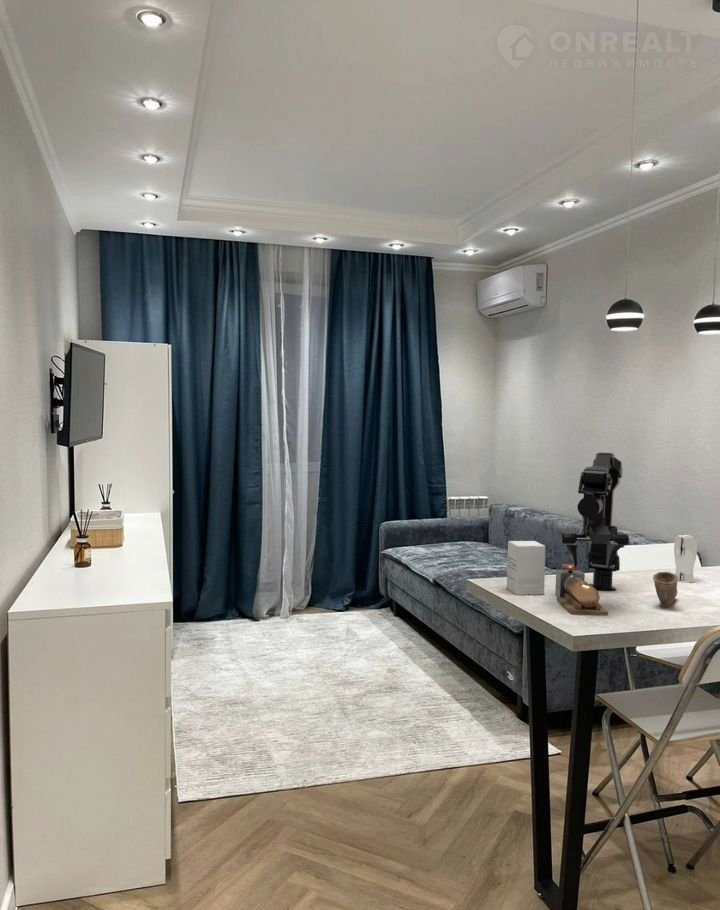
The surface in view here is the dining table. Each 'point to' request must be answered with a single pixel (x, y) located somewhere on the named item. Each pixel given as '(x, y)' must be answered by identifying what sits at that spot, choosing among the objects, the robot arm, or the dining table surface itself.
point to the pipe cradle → (580, 606)
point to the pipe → (665, 587)
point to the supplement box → (526, 567)
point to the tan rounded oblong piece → (582, 592)
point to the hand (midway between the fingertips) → (591, 567)
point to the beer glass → (685, 557)
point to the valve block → (566, 578)
